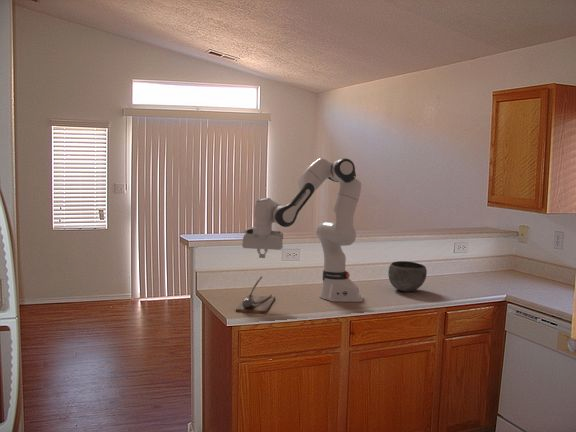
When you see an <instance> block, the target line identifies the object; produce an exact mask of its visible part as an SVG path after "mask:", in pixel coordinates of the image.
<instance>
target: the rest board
mask: <svg viewBox="0 0 576 432" xmlns="http://www.w3.org/2000/svg"><path fill="white" fill-rule="evenodd" d="M249 295H250V294H249ZM249 295H247V296H246V297H245V298H247V297H248V296H249ZM268 296H269V295H268ZM268 296H267V295H254V294H252V297H253V299H254V301H255V302H259V301H261V300H264V299H265V298H267V297H268ZM275 300H276V296H271V297H270V298H269V299H267V300H266V301H264V302H262V303H259V304H256V305H255V304H254V303H253V305H252V307H251V308H249V309H245V308H244V307H243V306H242V302H241V303H240V304H239V305H238V306H237V307H236V308H235V312H238V313H250V314H267V312H268V310H269V309H270V308H271V306H272V305H273V303H274V302H275Z"/></svg>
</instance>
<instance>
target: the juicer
mask: <svg viewBox="0 0 576 432" xmlns="http://www.w3.org/2000/svg"><path fill="white" fill-rule="evenodd" d="M262 279H263V276H260V277H259V278H258V280H257V281H256V282H255V283H254V286H253V287H252V289H251V291H250V293H249V296H248V295H247V296H248V297H247V296H246V297H247V298H246V297H245V298H244V299H243V300H242V302H241V303H242V306H243V307H244V308H245V309H249V308H251V307H252V305H253V303H254V304H255V305H256V304H259V303H262V302H264V301H266V300H267V299H269V298H270V297H273V294H270V295H268V297H267V298H265V299H264V300H261V301H259V302H255V301H254V299H253V297H252V295H253V292H254V290H255V289H256V287H257V285H258V284H259V283H260V281H261V280H262Z"/></svg>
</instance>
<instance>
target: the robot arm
mask: <svg viewBox="0 0 576 432" xmlns="http://www.w3.org/2000/svg"><path fill="white" fill-rule="evenodd" d="M356 177H357V174H356V167H355V163H354V162H353V161H352V160H351V159H349V158H339V159H337V160H335V161H334V162H329V160H327V159H326V158H323V157H320V158H317V159H316V160H315V161H313V162H312V163H311V164H310V165H309V166H308V167H307V168H306V169H305V170H304V171H303V172H302V174H301V175H300V176H299V178H298V179H297V180H298V187H299V188H298V189H299V190H298V192H297V193H296V194H295V196H294V197H293V198H292V199H291V201H289V203H288V204H286V205H283V204H280V203H278V202H276V201H274V200H273V199H272V198H270V197H264V198H259V199H257V200H256V201H255V205H254V224H253V225H254V226H251V227H248V228H246V229H245V231H244V233H245V234H244V235H243V237H242V244H241V247H242V248H243V249H255V250H257V251H256V252H257V253H258V255H259V257H258V258H260V259H261V258H262V259H265V258H266V254H267V252H269V250H274V251H275V250H276V251H281V250H282V249H283V248H284V246H283V239H284V233H283V232H281V231H279V230H272V229H273V226H272V225H273V223H276V224H278V225H280V227H283V228H288V227H291V226H292V225H294V223H295V222H296V220H297V217H298V215H299V213H300V212H301V210H302V209H303V207H305V205H306V203H307V202H308V201H309V200H310V198H311V197H312V195H313V194H314V193H315V192H317V190H318V189H319V188H320V187H321V186H322V184H324V182H325V181H326V180H327V179H329V180H331V182H334V183H339V190H338V193H337V196H336V198H335V201H334V204H333V207H332V210H333V212H334V215H335V217H334V218H335V219H334V222H333V221H323V222H320V223H319V224H318V225H317V227H316V236H317V238H318V239H319V241H320V243H321V247H322V251H323V270H322V287H321V291H320V293H319V297H320V298H321V299H324V300H327V301H329V302H345V303H346V302H347V303H351V302H352V303H360V302H363V301H364V296H363V295H362V294H361V293H360V289H359V286H358V284H356V283H355V282H354V281H352V279H350V272H349V271H347V270H346V259H347V258H346V254H345V253H344V251H343V249H342V247H344V246H345V247H346V246H351V245H352V244H354V242H355V241H356V240H357V231H356V230H355V227H354V226H355V225H354V216H355V213H356V209H357V206H358V202H359V199H360V195H361V192H362V191H361V190H362V182H361V181H360V180H359V179H358V178H356ZM261 250H264V251H263V252H264V253H261Z"/></svg>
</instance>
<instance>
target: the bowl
mask: <svg viewBox="0 0 576 432" xmlns="http://www.w3.org/2000/svg"><path fill="white" fill-rule="evenodd" d="M427 273H428V272H427V267H426V266H425V265H423V264H421V263H417V262H414V261H406V260H405V261H403V260H400V261H393V262H391V263H390V265H389V267H388V280H389V282H390V284H391V286H392V287H394V289H396V290H397V291H400V292H405V293H406V292H409V293H410V292H413V291H416V290H418V289H419V288H420V287H422V285H423V284H424V283H425V281H426V278H427Z"/></svg>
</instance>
